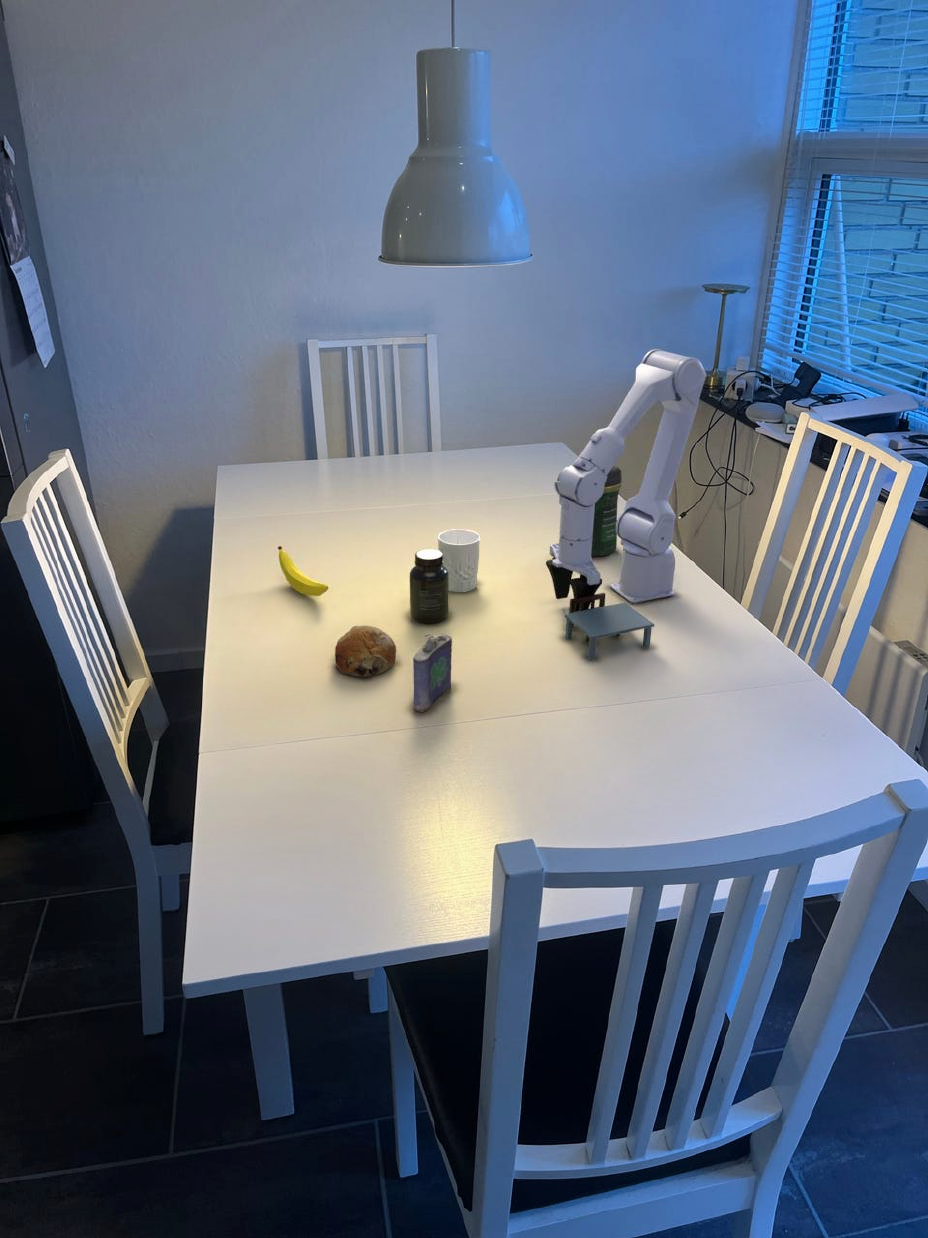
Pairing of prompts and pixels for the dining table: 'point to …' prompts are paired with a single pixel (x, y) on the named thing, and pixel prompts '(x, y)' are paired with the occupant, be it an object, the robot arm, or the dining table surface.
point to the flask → (432, 671)
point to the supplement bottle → (429, 588)
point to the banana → (299, 577)
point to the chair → (592, 599)
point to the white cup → (460, 558)
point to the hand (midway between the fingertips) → (571, 605)
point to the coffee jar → (606, 515)
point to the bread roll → (365, 651)
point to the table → (608, 624)
